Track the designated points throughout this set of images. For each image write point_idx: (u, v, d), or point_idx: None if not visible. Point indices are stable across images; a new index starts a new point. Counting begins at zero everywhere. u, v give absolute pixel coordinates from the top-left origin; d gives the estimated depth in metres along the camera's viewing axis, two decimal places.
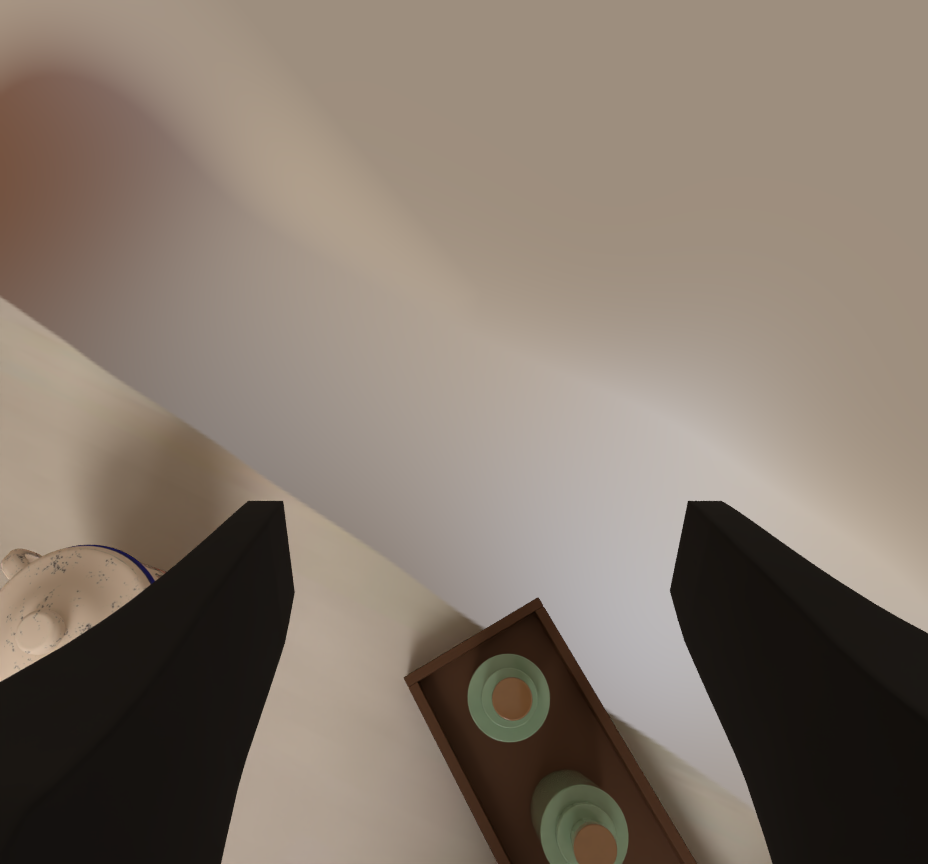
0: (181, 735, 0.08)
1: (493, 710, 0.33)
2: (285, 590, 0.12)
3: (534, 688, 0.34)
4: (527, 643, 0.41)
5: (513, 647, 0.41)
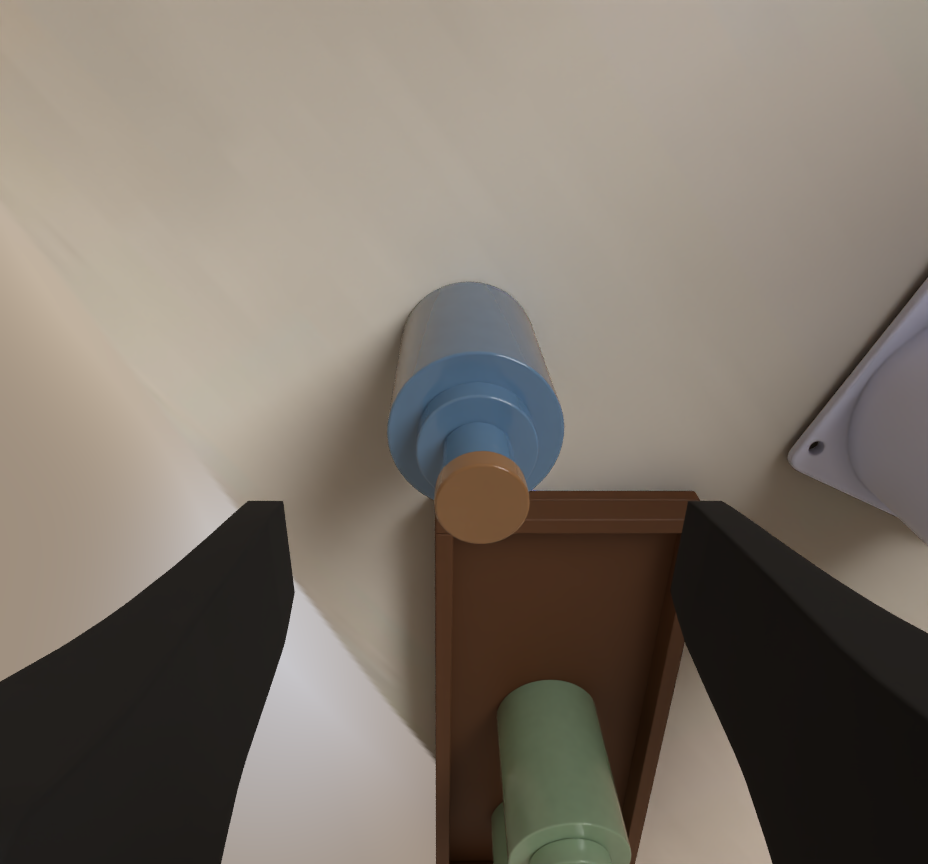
0: (181, 735, 0.08)
1: None
2: (285, 590, 0.12)
3: None
4: (475, 843, 0.32)
5: None
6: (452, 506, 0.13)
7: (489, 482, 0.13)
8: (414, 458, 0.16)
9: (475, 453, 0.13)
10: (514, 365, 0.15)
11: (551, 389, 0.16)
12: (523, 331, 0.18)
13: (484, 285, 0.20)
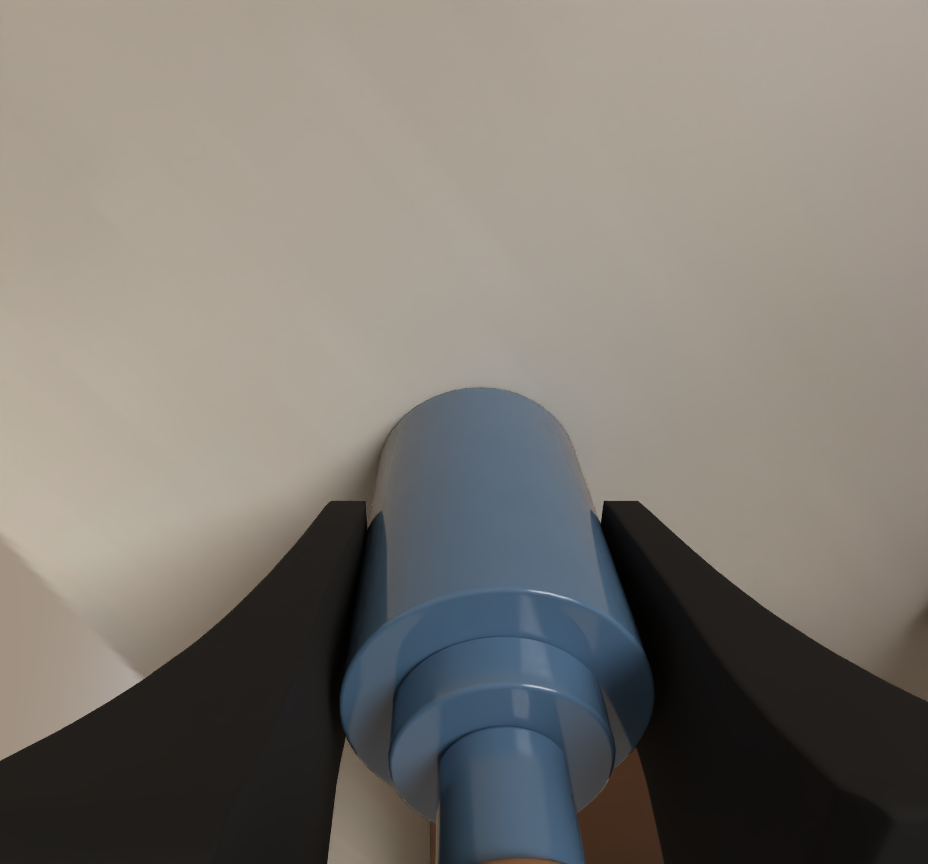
0: (307, 734, 0.08)
1: None
2: None
3: None
4: None
5: None
6: None
7: None
8: (388, 746, 0.09)
9: None
10: (572, 609, 0.08)
11: (636, 643, 0.08)
12: (572, 495, 0.11)
13: (503, 394, 0.13)
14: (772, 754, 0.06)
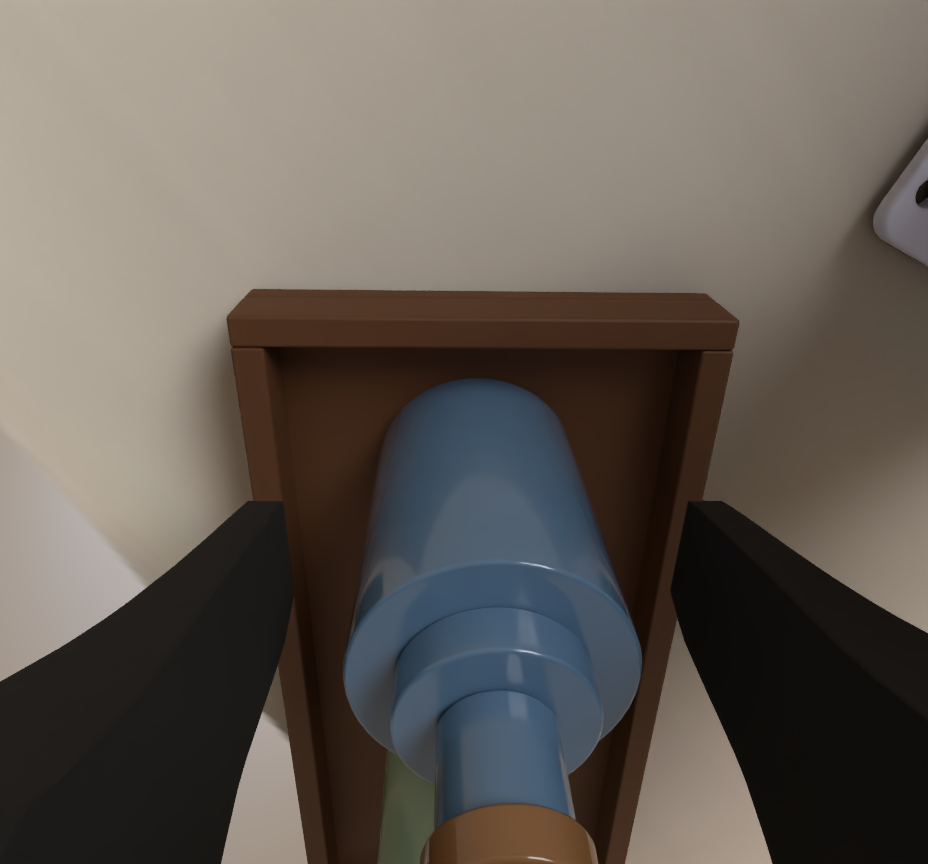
0: (181, 735, 0.08)
1: None
2: (286, 590, 0.12)
3: None
4: None
5: None
6: None
7: None
8: (389, 713, 0.10)
9: (499, 814, 0.07)
10: (563, 580, 0.09)
11: (624, 614, 0.09)
12: (565, 478, 0.11)
13: (500, 384, 0.14)
14: None
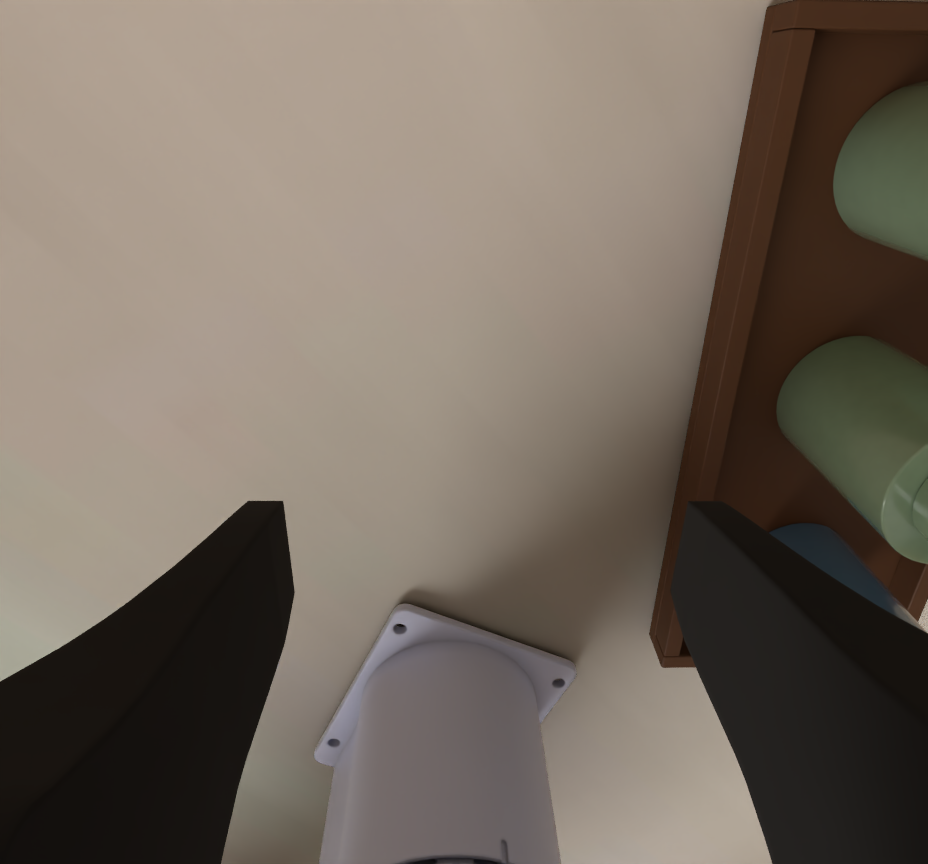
0: (181, 735, 0.08)
1: None
2: (285, 590, 0.12)
3: None
4: None
5: None
6: None
7: None
8: None
9: None
10: None
11: None
12: None
13: None
14: None
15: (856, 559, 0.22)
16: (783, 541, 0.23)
